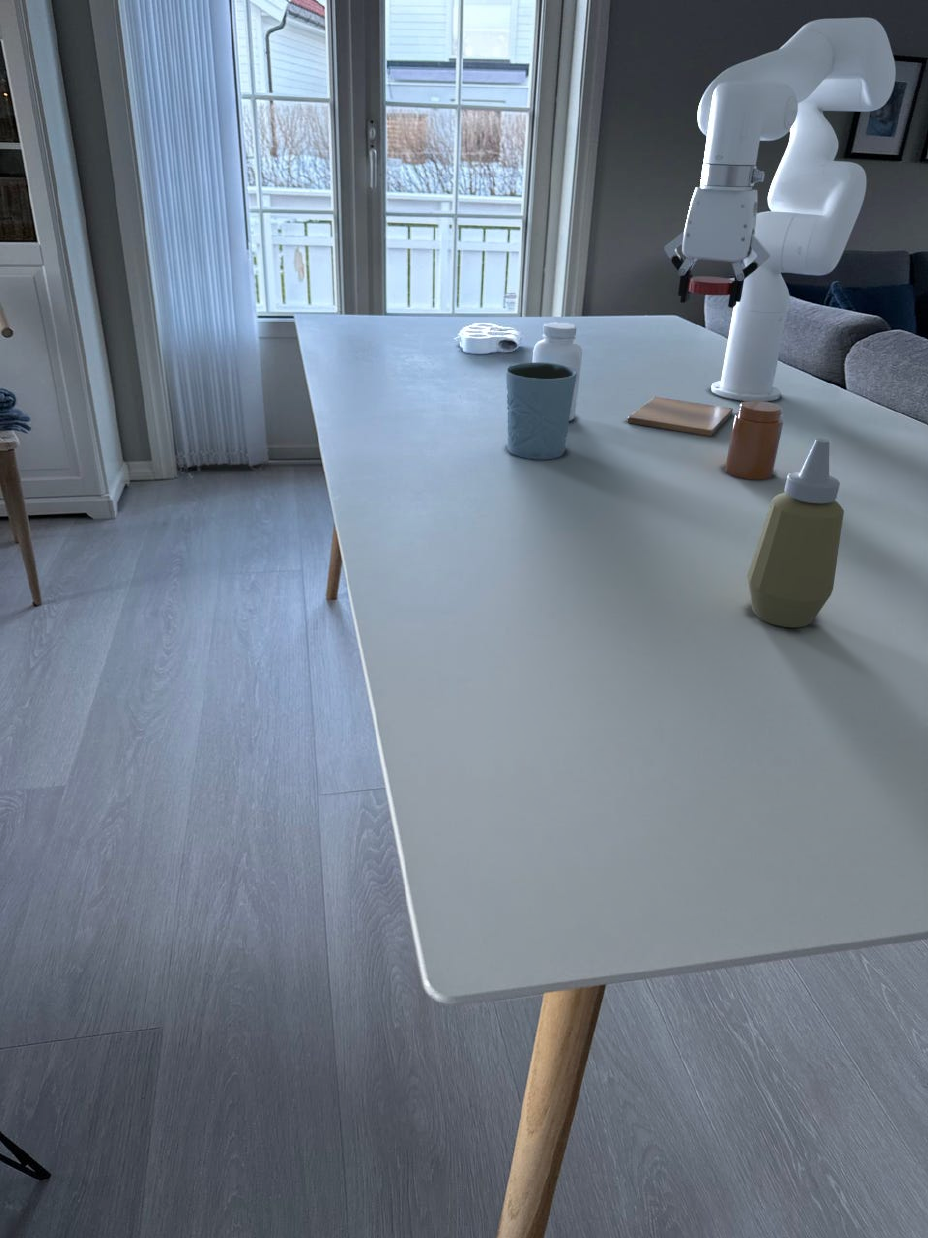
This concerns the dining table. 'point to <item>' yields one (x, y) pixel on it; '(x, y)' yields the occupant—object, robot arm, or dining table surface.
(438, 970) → the dining table surface
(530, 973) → the dining table surface
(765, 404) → the jam jar
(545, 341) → the pill bottle
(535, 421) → the blue embossed cup
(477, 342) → the white flat molded block
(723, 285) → the jam lid
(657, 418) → the wooden board
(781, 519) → the squeeze bottle
